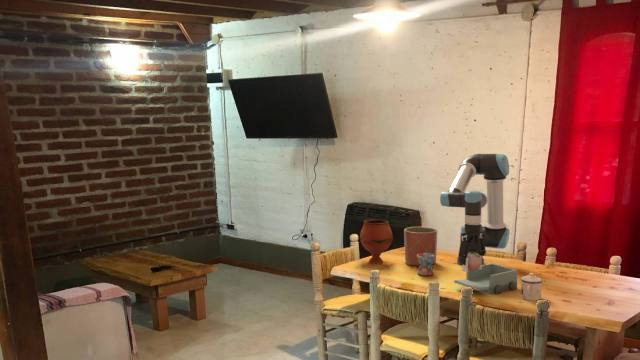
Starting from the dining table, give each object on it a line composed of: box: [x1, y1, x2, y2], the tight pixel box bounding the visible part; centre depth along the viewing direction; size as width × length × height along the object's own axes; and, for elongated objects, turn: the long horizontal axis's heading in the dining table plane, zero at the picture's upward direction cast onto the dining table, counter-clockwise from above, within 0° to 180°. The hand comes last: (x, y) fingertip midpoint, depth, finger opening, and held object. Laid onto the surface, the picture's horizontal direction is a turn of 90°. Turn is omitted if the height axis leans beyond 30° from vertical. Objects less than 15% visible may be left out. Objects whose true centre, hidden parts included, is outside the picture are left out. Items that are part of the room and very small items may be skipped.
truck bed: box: [465, 262, 518, 295], centre depth 258 cm, size 18×19×9 cm
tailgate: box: [453, 278, 489, 291], centre depth 251 cm, size 2×15×8 cm
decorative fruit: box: [464, 251, 482, 271], centre depth 250 cm, size 9×8×10 cm
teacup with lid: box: [520, 272, 543, 302], centre depth 240 cm, size 12×9×12 cm
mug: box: [416, 253, 434, 277], centre depth 283 cm, size 12×9×11 cm
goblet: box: [359, 219, 394, 265], centre depth 307 cm, size 19×19×25 cm
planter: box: [403, 226, 438, 267], centre depth 305 cm, size 19×19×20 cm
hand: (472, 269), depth 251 cm, fingers closed on decorative fruit, 8 cm apart
